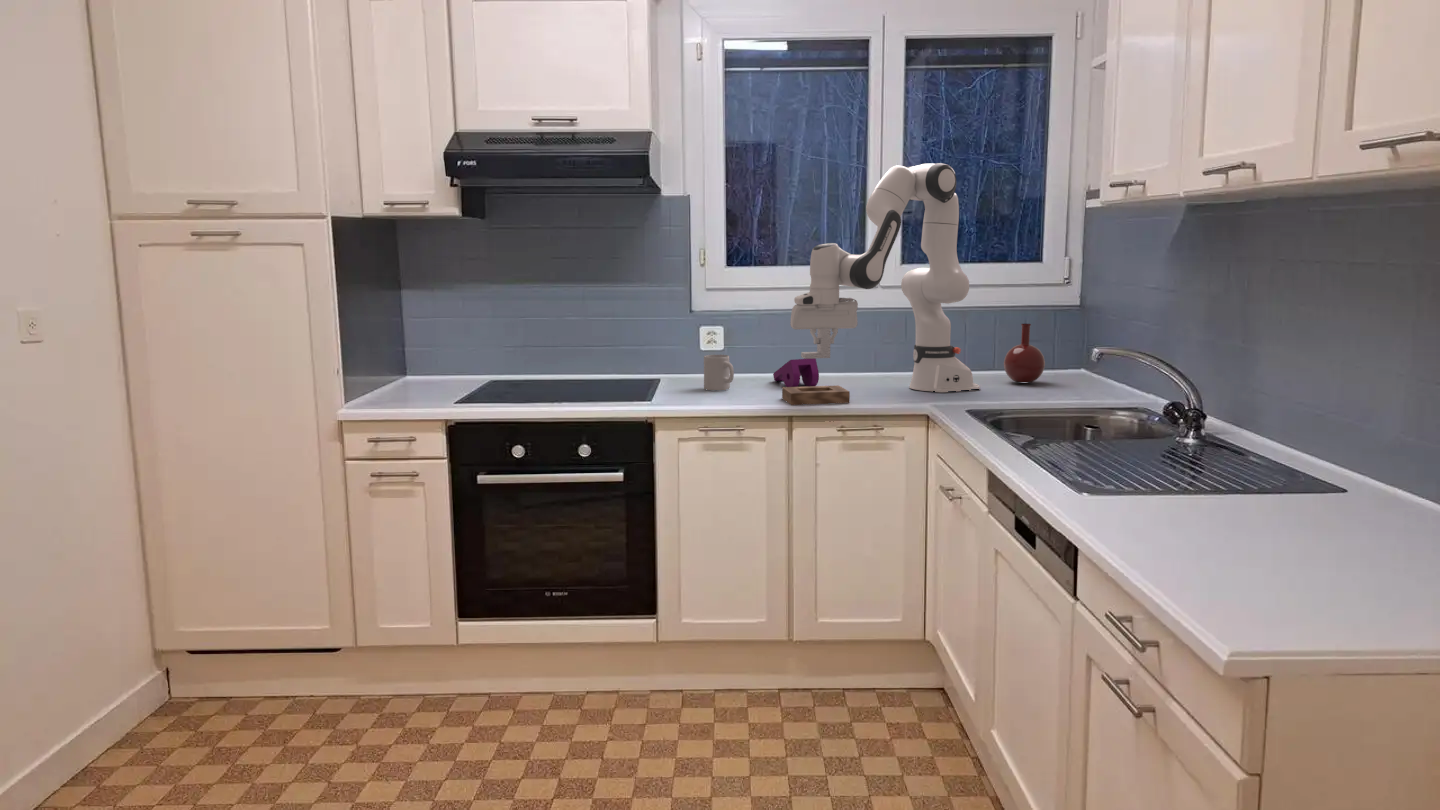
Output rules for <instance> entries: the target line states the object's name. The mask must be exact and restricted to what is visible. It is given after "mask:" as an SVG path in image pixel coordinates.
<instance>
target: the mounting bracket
mask: <svg viewBox="0 0 1440 810" xmlns="http://www.w3.org/2000/svg"><path fill="white" fill-rule="evenodd" d="M772 376H773V380H774V382H776V381H779V382H783V383H784V386H785V387H799V385H800V381H801V380H802V383H803V385H804V386H805V385H806V386H805V387H807V386H818V383H819V379H820V373H819V368H818V362H817V358H813V359H804V358H797V359H789V360H788V361H787V362H786V363H785V364H783V365H782V366H781V367H779V368H778V369H777V370H776V371H774V372H773V375H772Z"/></svg>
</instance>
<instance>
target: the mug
mask: <svg viewBox="0 0 1440 810" xmlns="http://www.w3.org/2000/svg"><path fill="white" fill-rule="evenodd" d="M734 371H735V370H734V366H733V364H732V363H731V362H730V355H727V354H707V355H704V356H703V389H704V390H705V389H707V390H725V391H727V390H726V389H729V388H730V387H731V383H732V382H733V380H734V375H735V372H734ZM707 390H706V391H707ZM729 390H730V389H729Z"/></svg>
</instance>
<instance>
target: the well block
mask: <svg viewBox="0 0 1440 810" xmlns="http://www.w3.org/2000/svg"><path fill="white" fill-rule="evenodd" d="M781 389H782V390H781V391H782V392H781V393H782V394H781V397H782V398H783V399H782V398H781V399H782V400H784V401H785V402H786V401H787V402H786V403H788V404H789V405H790V404H791V406H802V405H803V404H807V405H829V404H828V403H835V404H850V397H851V396H850V391H849V390H848V389H846V388H844V387H842V386H840V385H839V384H838V385H816V386H798V387H786V386H785V387H784V386H782V388H781ZM803 406H804V405H803Z"/></svg>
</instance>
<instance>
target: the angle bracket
mask: <svg viewBox="0 0 1440 810" xmlns="http://www.w3.org/2000/svg"><path fill="white" fill-rule="evenodd" d="M816 333H817V334H816V335H817V336H816V337H817V338H820V341H819V342H820V344H816V351H801V353H800V356H801V359H813V358H816V359H831V344H830V337H831V335H832V334H831V333H832V329H831V328H821V329H816Z"/></svg>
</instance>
